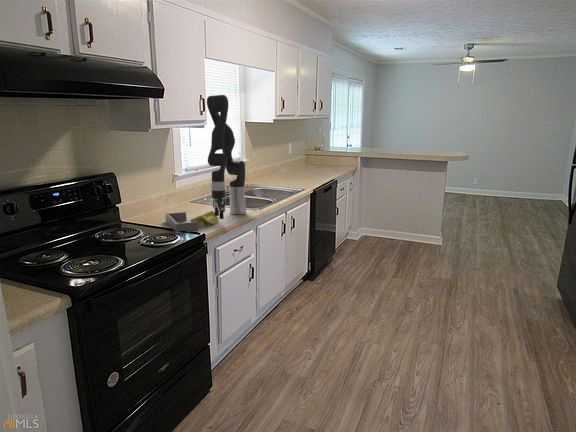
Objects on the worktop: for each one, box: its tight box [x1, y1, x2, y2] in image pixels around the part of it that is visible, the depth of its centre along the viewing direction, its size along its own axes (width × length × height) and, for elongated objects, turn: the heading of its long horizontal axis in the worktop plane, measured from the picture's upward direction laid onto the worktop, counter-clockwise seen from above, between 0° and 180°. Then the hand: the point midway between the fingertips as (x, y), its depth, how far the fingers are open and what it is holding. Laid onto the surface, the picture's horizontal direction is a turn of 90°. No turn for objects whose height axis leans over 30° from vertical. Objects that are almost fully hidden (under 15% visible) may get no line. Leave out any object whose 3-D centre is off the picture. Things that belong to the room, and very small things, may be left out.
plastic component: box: [189, 210, 220, 228], centre depth 230 cm, size 20×7×10 cm
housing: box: [164, 211, 199, 233], centre depth 225 cm, size 12×28×5 cm, turn 27°
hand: (219, 217), depth 234 cm, fingers open, 8 cm apart
